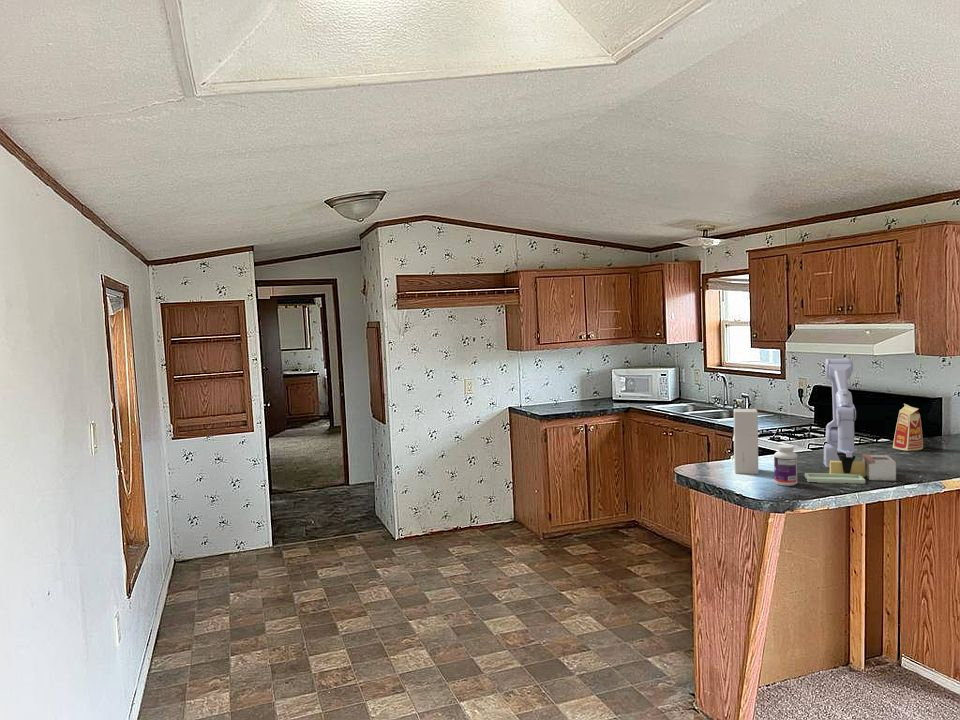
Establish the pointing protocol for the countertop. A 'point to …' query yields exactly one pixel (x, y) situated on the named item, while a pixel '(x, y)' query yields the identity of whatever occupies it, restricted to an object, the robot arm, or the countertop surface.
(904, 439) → the milk carton
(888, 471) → the dispenser
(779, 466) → the pill bottle
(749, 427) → the tall white carton
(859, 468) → the tan rectangular block
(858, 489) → the countertop surface
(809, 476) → the tray
